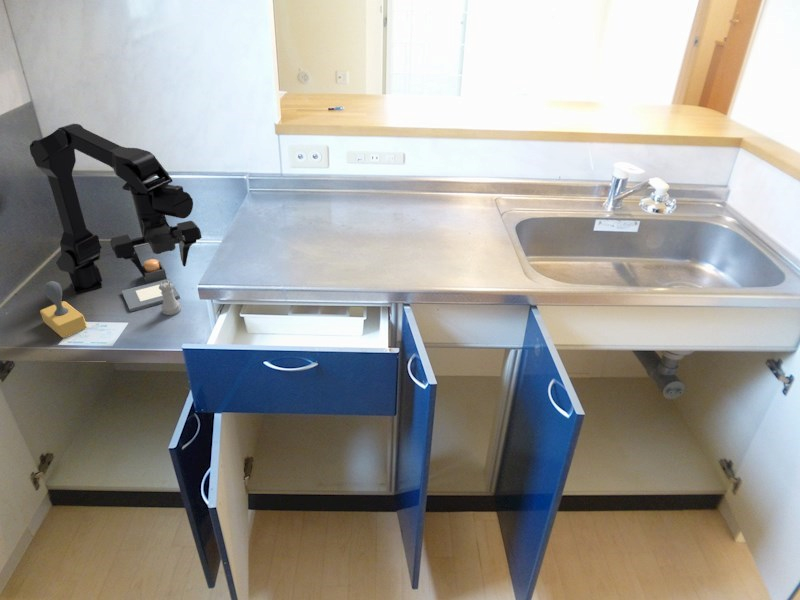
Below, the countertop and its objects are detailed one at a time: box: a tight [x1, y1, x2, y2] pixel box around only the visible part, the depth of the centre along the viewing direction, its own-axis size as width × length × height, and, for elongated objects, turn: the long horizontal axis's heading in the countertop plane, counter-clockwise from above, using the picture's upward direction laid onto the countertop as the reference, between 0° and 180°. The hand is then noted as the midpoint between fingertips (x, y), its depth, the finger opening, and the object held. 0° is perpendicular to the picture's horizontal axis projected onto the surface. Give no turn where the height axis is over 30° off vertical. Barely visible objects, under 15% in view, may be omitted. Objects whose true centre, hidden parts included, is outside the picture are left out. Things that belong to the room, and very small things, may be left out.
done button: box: [143, 258, 160, 273], centre depth 151 cm, size 4×4×2 cm
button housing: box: [141, 261, 168, 285], centre depth 152 cm, size 5×5×3 cm
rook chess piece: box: [159, 281, 182, 316], centre depth 137 cm, size 4×4×8 cm
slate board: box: [121, 278, 181, 313], centre depth 145 cm, size 12×10×1 cm
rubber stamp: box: [39, 280, 88, 339], centre depth 130 cm, size 10×6×12 cm, turn 51°
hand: (164, 270), depth 134 cm, fingers open, 9 cm apart
